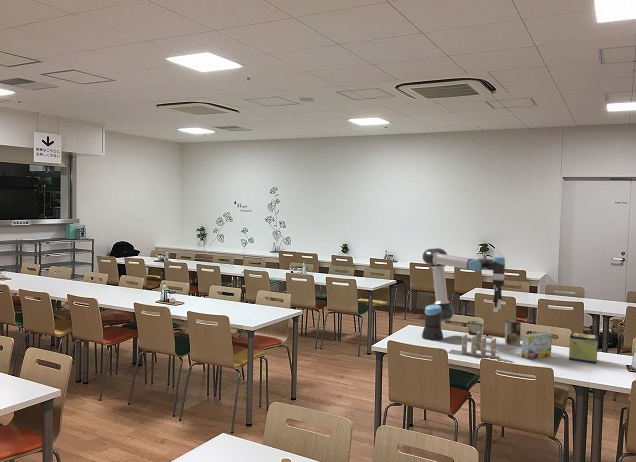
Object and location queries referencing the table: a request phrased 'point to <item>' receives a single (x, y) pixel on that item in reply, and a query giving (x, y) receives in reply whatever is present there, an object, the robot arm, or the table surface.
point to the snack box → (536, 345)
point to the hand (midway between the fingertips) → (497, 310)
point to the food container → (474, 327)
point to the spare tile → (478, 341)
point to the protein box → (583, 348)
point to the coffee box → (512, 332)
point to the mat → (470, 354)
